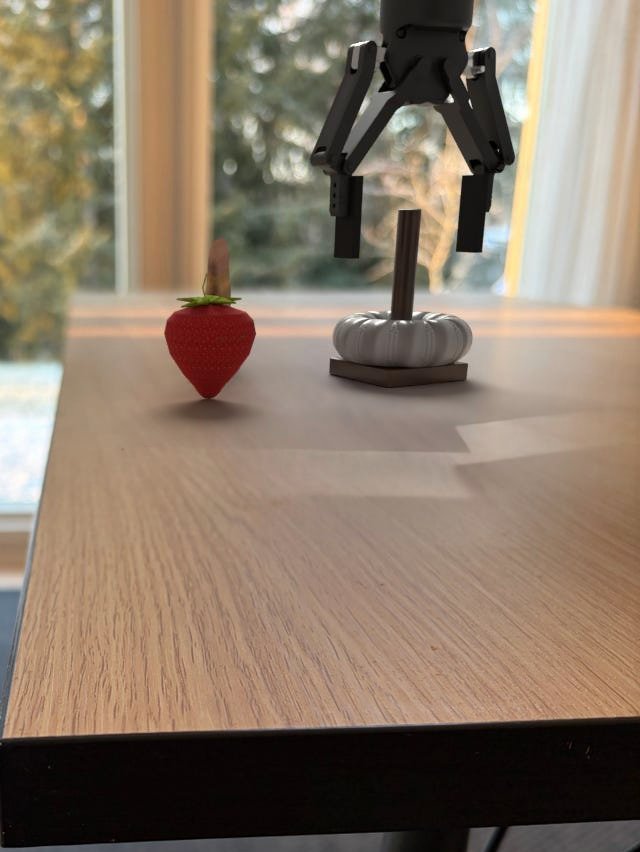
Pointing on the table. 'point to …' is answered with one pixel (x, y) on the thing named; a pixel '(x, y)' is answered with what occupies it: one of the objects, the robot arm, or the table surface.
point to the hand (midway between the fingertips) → (409, 255)
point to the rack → (401, 318)
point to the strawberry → (209, 341)
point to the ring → (402, 339)
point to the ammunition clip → (218, 270)
